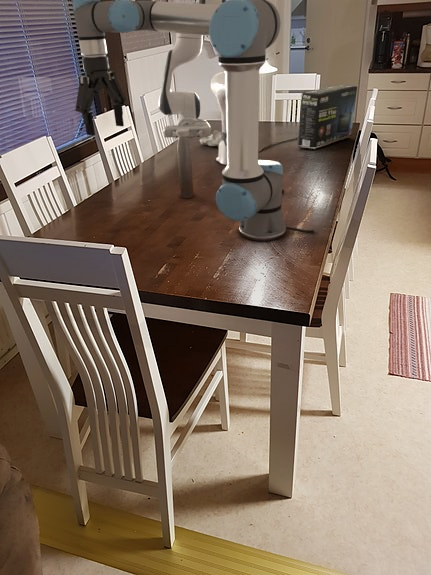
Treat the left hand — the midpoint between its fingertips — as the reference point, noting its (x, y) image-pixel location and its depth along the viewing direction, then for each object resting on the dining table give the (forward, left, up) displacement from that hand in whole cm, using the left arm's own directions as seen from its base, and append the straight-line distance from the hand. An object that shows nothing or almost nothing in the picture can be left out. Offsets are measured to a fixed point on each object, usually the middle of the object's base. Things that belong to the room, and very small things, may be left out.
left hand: (187, 135), depth 191 cm
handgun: (-1, +35, -18) cm, 40 cm away
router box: (-77, +42, -18) cm, 89 cm away
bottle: (+20, +8, -18) cm, 29 cm away
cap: (+20, +8, +7) cm, 23 cm away
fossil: (-59, -14, -18) cm, 63 cm away
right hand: (+51, -3, +13) cm, 52 cm away
